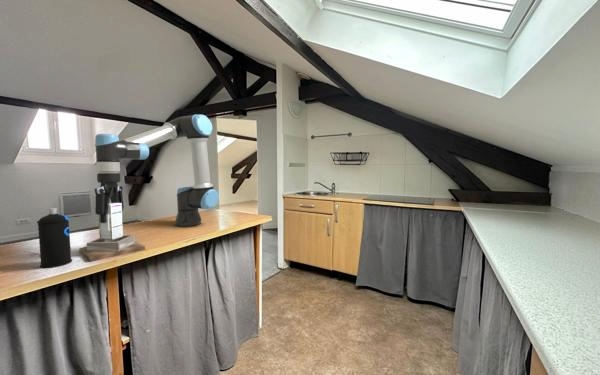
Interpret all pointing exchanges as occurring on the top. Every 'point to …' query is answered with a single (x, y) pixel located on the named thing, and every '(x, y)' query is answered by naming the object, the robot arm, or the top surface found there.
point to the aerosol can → (54, 240)
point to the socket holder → (110, 247)
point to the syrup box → (113, 222)
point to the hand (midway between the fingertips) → (111, 228)
